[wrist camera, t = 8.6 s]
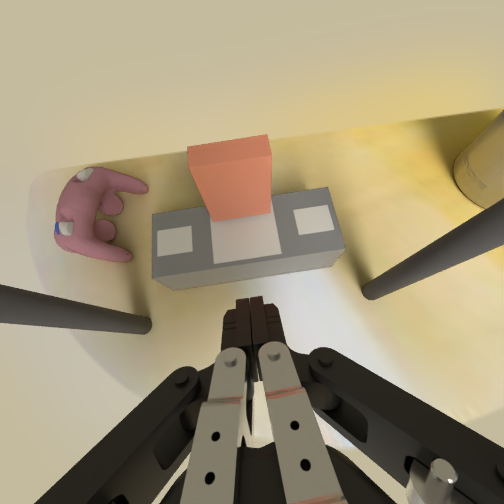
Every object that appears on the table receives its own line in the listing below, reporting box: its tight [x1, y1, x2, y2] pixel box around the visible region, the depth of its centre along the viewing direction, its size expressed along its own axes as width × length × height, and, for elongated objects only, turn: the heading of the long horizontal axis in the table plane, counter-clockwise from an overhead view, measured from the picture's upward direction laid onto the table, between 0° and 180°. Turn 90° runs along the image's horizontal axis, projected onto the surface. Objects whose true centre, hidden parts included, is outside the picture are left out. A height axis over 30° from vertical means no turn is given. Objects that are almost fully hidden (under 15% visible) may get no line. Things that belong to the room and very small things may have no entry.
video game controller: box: [54, 167, 148, 262], centre depth 26 cm, size 10×5×7 cm, turn 177°
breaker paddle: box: [187, 134, 272, 222], centre depth 18 cm, size 5×2×7 cm, turn 98°
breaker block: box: [152, 187, 346, 291], centre depth 24 cm, size 16×6×5 cm, turn 98°
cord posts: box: [0, 198, 504, 334], centre depth 16 cm, size 24×2×18 cm, turn 98°
